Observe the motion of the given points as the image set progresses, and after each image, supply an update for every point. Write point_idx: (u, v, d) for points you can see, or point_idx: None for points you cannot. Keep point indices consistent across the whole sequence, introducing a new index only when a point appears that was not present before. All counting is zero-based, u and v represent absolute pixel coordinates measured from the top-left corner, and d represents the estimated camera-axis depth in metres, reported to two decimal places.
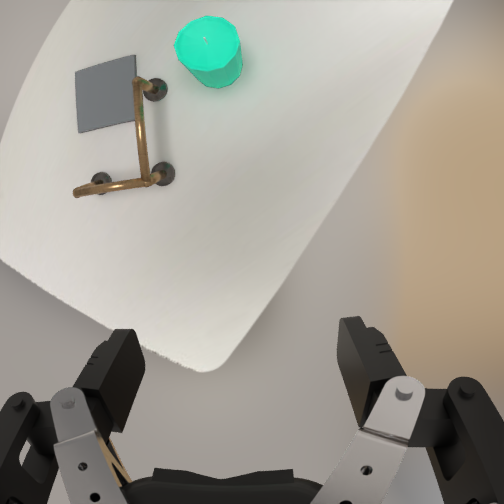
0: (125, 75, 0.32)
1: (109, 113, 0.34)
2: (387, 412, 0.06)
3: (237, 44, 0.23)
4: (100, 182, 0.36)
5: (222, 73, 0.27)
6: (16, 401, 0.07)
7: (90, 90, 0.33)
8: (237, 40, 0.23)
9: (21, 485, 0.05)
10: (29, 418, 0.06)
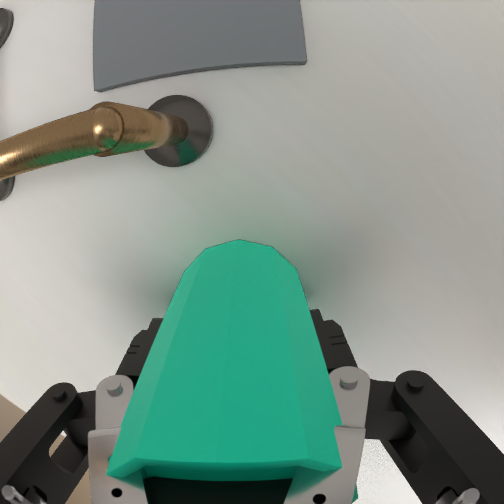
0: (236, 34, 0.10)
1: (124, 4, 0.09)
2: None
3: None
4: None
5: None
6: (57, 393, 0.07)
7: None
8: None
9: (46, 476, 0.05)
10: (73, 409, 0.07)
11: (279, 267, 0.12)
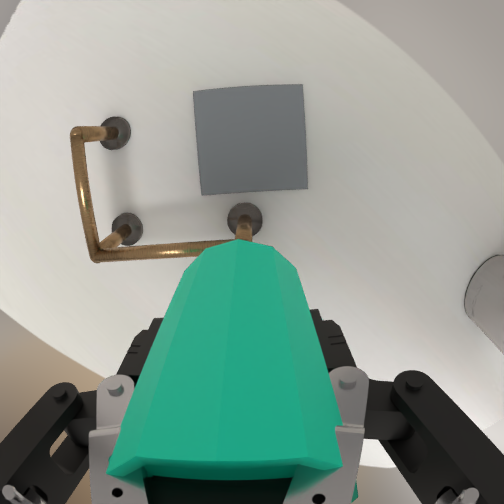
0: (275, 174, 0.26)
1: (215, 147, 0.25)
2: None
3: None
4: (111, 138, 0.23)
5: None
6: (59, 392, 0.07)
7: (262, 113, 0.24)
8: None
9: (46, 475, 0.05)
10: (74, 409, 0.07)
11: (279, 267, 0.12)
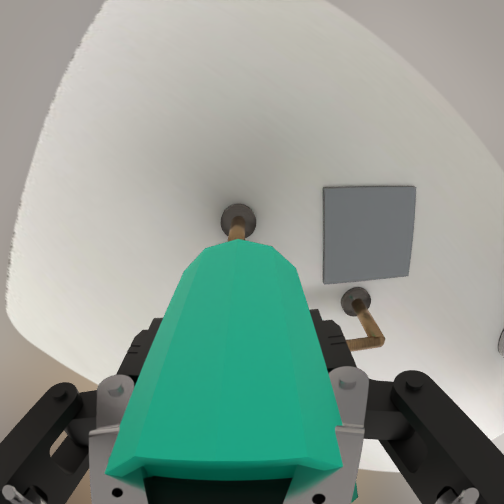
0: (386, 265, 0.28)
1: (341, 243, 0.27)
2: None
3: None
4: None
5: None
6: (58, 392, 0.07)
7: (383, 213, 0.26)
8: None
9: (46, 475, 0.05)
10: (74, 409, 0.07)
11: (279, 266, 0.12)
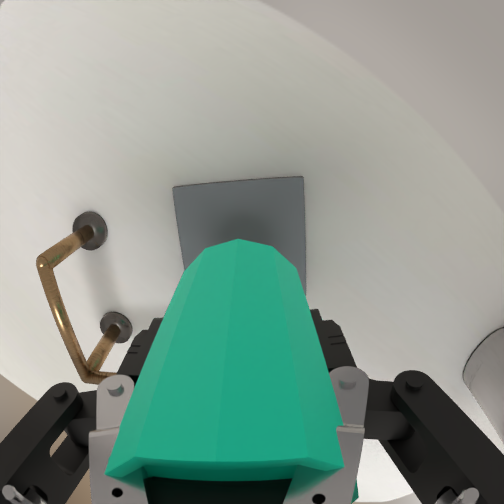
0: None
1: None
2: None
3: None
4: (86, 242, 0.21)
5: None
6: (59, 392, 0.07)
7: (255, 214, 0.22)
8: None
9: (46, 475, 0.05)
10: (74, 409, 0.07)
11: (279, 266, 0.12)
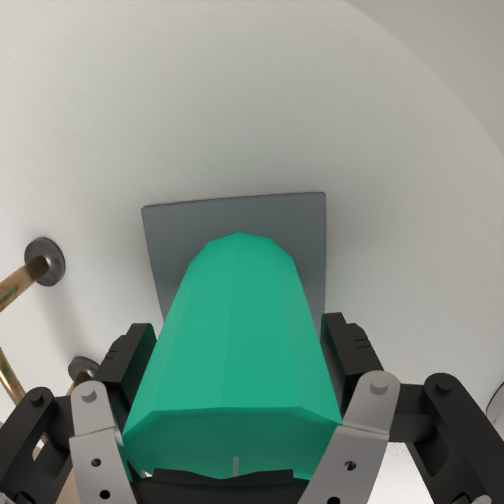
0: None
1: None
2: (360, 405, 0.07)
3: None
4: (39, 278, 0.15)
5: None
6: (35, 396, 0.07)
7: None
8: None
9: (32, 480, 0.05)
10: (49, 413, 0.07)
11: (276, 255, 0.14)
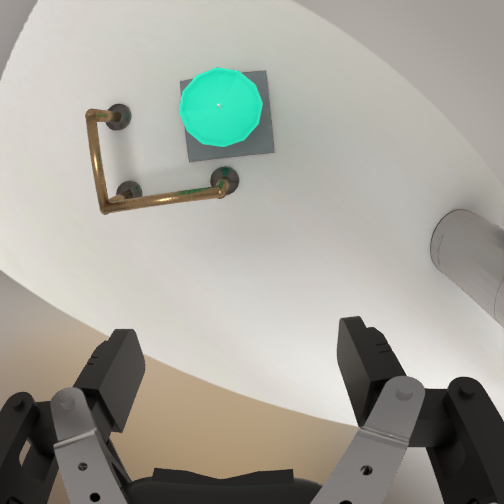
0: (247, 142, 0.31)
1: None
2: (387, 412, 0.06)
3: (218, 144, 0.21)
4: (116, 120, 0.29)
5: None
6: (16, 401, 0.07)
7: None
8: (224, 144, 0.22)
9: (21, 485, 0.05)
10: (29, 418, 0.06)
11: None
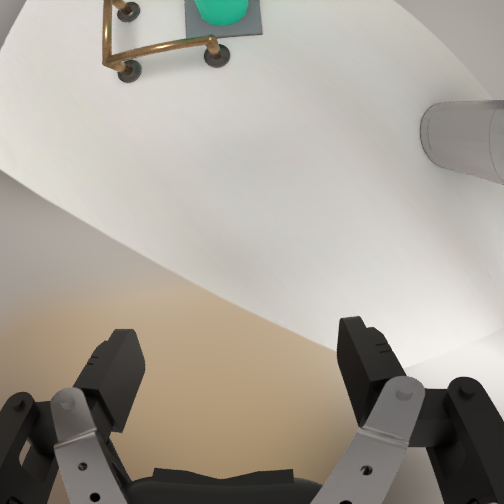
0: (238, 25, 0.29)
1: (197, 12, 0.29)
2: (387, 412, 0.06)
3: None
4: (127, 11, 0.27)
5: None
6: (16, 401, 0.07)
7: None
8: None
9: (21, 485, 0.05)
10: (29, 418, 0.06)
11: None
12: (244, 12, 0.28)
